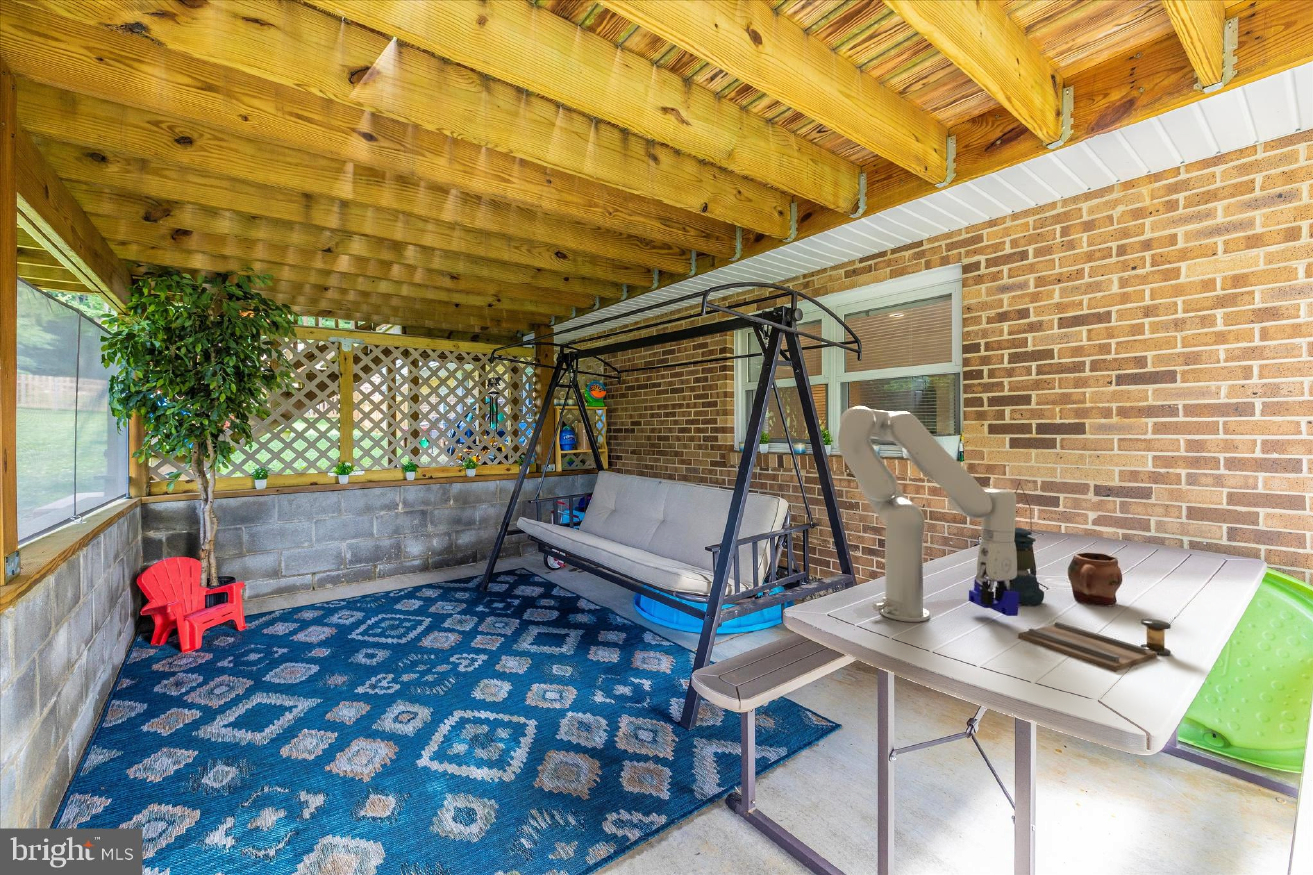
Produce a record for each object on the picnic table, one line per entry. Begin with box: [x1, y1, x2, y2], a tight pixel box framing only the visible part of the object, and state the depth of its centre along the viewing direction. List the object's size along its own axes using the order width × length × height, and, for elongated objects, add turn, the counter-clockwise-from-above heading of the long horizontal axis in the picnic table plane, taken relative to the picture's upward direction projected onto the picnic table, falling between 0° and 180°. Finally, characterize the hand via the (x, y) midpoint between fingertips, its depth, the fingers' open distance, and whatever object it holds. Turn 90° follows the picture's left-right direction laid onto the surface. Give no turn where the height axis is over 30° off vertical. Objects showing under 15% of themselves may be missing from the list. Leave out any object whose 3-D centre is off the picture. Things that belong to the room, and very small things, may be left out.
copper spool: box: [1140, 618, 1172, 657], centre depth 122 cm, size 5×5×7 cm
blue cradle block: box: [968, 578, 1019, 617], centre depth 144 cm, size 12×4×6 cm, turn 8°
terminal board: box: [1017, 621, 1158, 673], centre depth 125 cm, size 16×20×2 cm
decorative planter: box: [1067, 552, 1123, 607], centre depth 155 cm, size 20×12×14 cm, turn 132°
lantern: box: [995, 482, 1045, 607], centre depth 159 cm, size 14×12×35 cm
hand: (994, 603), depth 143 cm, fingers closed on blue cradle block, 4 cm apart
